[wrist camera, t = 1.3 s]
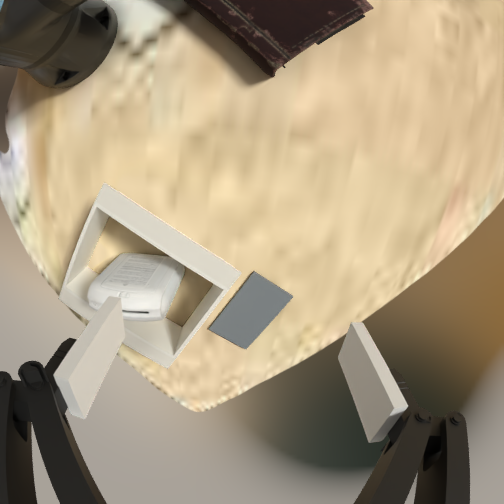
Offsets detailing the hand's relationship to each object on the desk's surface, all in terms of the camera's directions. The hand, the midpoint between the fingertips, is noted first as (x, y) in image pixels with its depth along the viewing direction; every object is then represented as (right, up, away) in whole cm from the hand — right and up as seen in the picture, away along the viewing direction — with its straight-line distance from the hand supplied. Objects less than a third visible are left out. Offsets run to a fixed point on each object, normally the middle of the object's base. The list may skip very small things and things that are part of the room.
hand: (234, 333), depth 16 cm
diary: (+2, +41, +11) cm, 42 cm away
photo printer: (-14, +3, +25) cm, 29 cm away
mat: (+1, -5, +28) cm, 28 cm away
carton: (-14, +2, +25) cm, 28 cm away
